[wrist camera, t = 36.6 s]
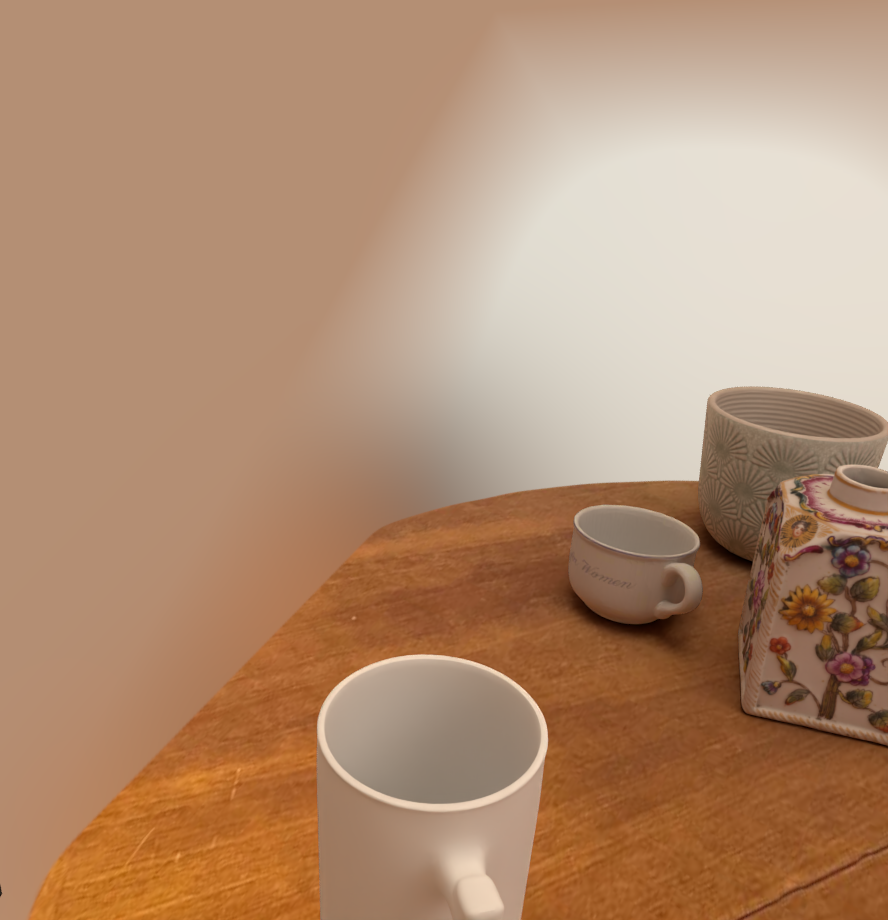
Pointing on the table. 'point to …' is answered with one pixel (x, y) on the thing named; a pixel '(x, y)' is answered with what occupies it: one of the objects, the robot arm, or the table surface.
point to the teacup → (634, 564)
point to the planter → (774, 452)
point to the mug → (427, 792)
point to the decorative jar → (820, 606)
